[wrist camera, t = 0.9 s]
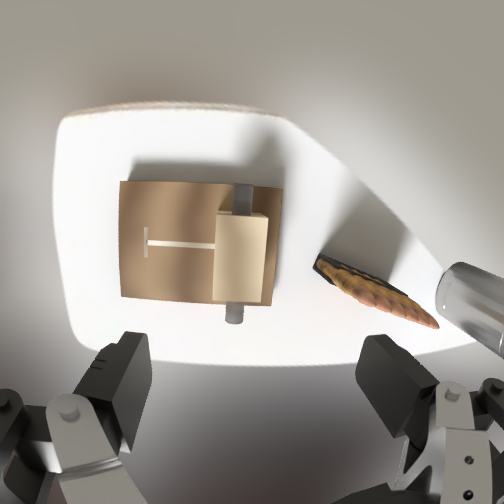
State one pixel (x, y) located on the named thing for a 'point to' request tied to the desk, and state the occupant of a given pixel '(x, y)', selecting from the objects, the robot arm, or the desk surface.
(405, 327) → the desk surface
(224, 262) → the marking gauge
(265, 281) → the walnut board
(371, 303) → the ammunition clip
